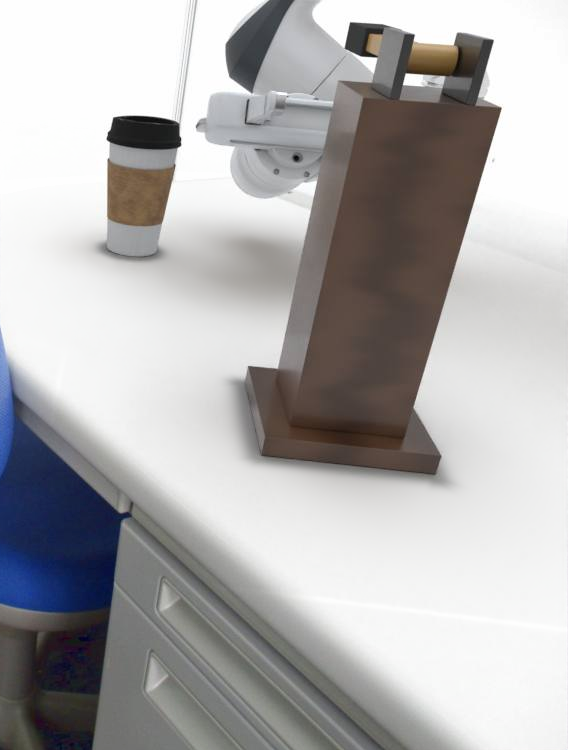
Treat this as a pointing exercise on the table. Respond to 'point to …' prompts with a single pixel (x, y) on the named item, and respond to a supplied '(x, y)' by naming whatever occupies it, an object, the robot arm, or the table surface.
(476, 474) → the table surface
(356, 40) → the lever
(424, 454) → the pedestal
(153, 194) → the coffee cup
